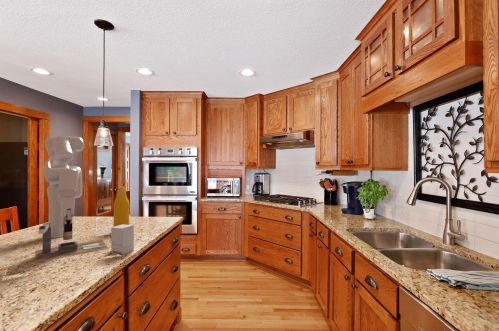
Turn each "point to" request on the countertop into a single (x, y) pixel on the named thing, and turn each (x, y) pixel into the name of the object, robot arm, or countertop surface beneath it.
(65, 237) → the oak peg
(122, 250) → the supplement box
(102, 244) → the eye board
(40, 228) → the locking bar
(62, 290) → the countertop surface
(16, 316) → the countertop surface
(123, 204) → the beer bottle
